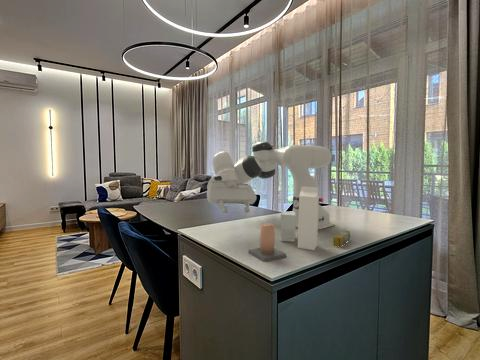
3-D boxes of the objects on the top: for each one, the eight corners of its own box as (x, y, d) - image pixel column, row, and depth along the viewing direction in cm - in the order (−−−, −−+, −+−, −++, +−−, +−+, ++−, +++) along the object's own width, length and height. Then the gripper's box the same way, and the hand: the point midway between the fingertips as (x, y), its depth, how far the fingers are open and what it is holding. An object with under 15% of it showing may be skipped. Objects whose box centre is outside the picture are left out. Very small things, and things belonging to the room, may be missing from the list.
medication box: (343, 239, 106) (343, 229, 106) (350, 240, 105) (350, 230, 104) (333, 247, 97) (333, 236, 97) (340, 248, 95) (341, 237, 95)
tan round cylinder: (268, 248, 90) (269, 222, 90) (277, 252, 86) (278, 225, 86) (257, 250, 88) (257, 224, 87) (265, 254, 84) (266, 227, 83)
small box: (295, 242, 101) (295, 215, 100) (280, 241, 102) (281, 214, 101) (294, 236, 109) (295, 211, 108) (281, 235, 110) (282, 210, 109)
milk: (314, 250, 92) (316, 188, 90) (297, 248, 94) (299, 187, 93) (317, 245, 97) (319, 186, 96) (300, 243, 100) (302, 185, 98)
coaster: (270, 248, 93) (270, 245, 93) (286, 256, 85) (286, 253, 85) (248, 252, 89) (248, 249, 89) (263, 261, 81) (263, 258, 81)
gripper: (247, 188, 114) (256, 216, 106) (202, 187, 105) (209, 216, 97) (253, 179, 110) (263, 207, 102) (207, 177, 101) (214, 207, 93)
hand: (236, 211), depth 99 cm, fingers open, 8 cm apart
